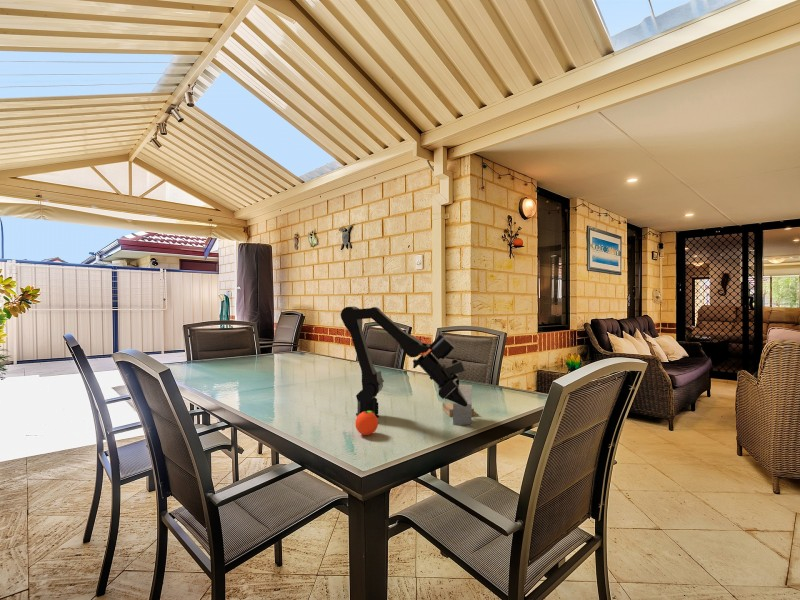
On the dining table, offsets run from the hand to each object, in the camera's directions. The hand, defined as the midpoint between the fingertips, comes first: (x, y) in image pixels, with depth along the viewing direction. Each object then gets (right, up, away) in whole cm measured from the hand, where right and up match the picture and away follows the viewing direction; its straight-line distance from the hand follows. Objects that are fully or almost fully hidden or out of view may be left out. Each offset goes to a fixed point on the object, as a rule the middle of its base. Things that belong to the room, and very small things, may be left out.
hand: (466, 402), depth 131 cm
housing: (-1, -7, 0) cm, 7 cm away
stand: (-1, -7, +12) cm, 14 cm away
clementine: (-32, -7, -12) cm, 35 cm away
